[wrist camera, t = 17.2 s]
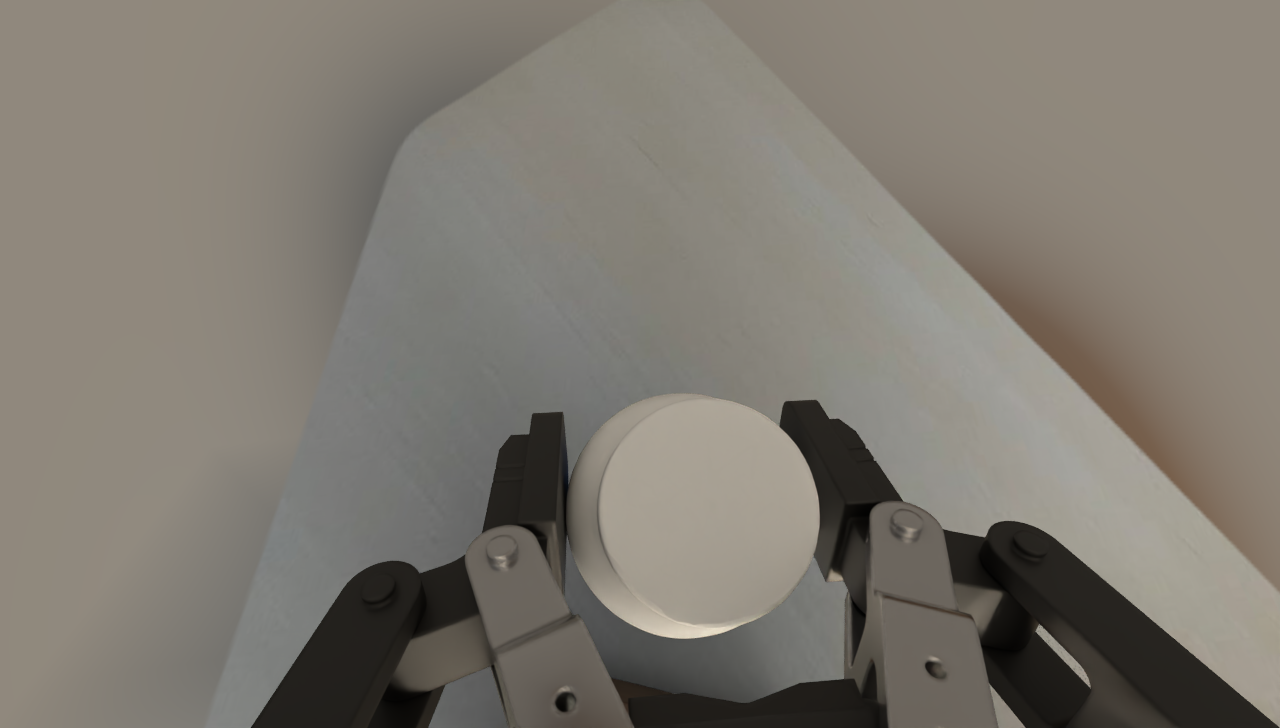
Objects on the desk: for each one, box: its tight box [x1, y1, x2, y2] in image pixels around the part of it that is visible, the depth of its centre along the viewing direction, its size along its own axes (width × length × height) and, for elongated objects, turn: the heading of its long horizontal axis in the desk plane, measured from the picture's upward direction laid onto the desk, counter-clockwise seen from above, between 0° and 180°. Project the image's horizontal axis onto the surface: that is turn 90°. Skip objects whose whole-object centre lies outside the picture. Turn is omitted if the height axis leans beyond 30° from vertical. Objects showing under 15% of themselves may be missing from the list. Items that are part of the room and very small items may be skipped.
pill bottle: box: [566, 393, 820, 639], centre depth 14 cm, size 6×5×10 cm
